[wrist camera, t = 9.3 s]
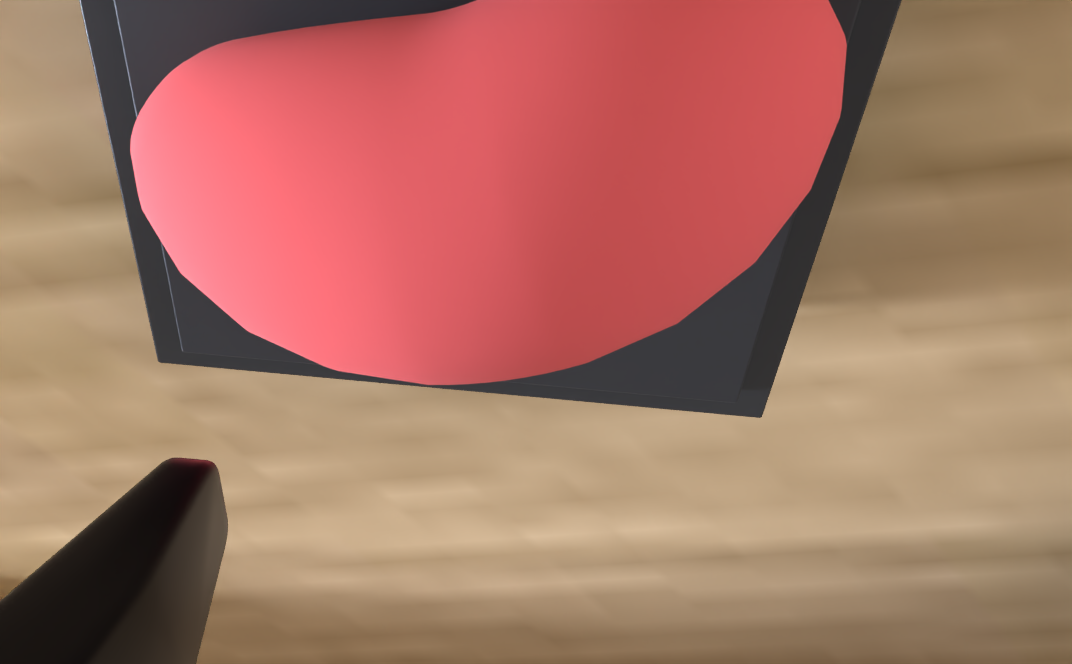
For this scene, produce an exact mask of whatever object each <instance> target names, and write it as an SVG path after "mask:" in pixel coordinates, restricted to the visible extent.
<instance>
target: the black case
mask: <svg viewBox="0 0 1072 664" xmlns="http://www.w3.org/2000/svg"><path fill="white" fill-rule="evenodd" d="M79 1H80V6H81V11H82V15H83V20H84V24H85V29H86V33H87V38H88V43H89V47H90V52H91V56H92V61H93V65H94V70H95V75H96V79H97V84H98V88H99V93H100V97H101V102H102V107H103V111H104V116H105V120H106V125H107V130H108V134H109V139H110V143H111V148H112V152H113V157H114V162H115V166H116V171H117V175H118V180H119V184H120V189H121V194H122V198H123V203H124V207H125V212H126V217H127V221H128V226H129V230H130V235H131V239H132V244H133V249H134V253H135V258H136V262H137V267H138V271H139V276H140V281H141V285H142V290H143V294H144V299H145V304H146V308H147V313H148V317H149V322H150V326H151V331H152V336H153V340H154V345H155V349H156V354H157V358H158V362H160V363H171V364H182V365H193V366H204V367H215V368H225V369H236V370H247V371H258V372H269V373H280V374H291V375H302V376H312V377H323V378H334V379H345V380H356V381H367V382H378V383H388V384H399V385H410V386H421V387H432V388H443V389H454V390H464V391H475V392H486V393H497V394H508V395H519V396H530V397H541V398H551V399H562V400H573V401H584V402H595V403H606V404H617V405H627V406H638V407H649V408H660V409H671V410H682V411H693V412H704V413H714V414H725V415H736V416H747V417H758V418H760V417H762V415H763V412H764V409H765V406H766V403H767V400H768V397H769V394H770V391H771V388H772V385H773V382H774V379H775V376H776V373H777V370H778V367H779V364H780V361H781V358H782V355H783V352H784V349H785V346H786V343H787V340H788V337H789V334H790V331H791V328H792V325H793V322H794V319H795V316H796V313H797V310H798V307H799V304H800V301H801V298H802V295H803V292H804V289H805V286H806V283H807V280H808V277H809V274H810V271H811V269H812V266H813V263H814V260H815V257H816V254H817V251H818V248H819V245H820V242H821V239H822V236H823V233H824V230H825V227H826V224H827V221H828V218H829V215H830V212H831V209H832V206H833V203H834V200H835V197H836V194H837V191H838V188H839V185H840V182H841V179H842V176H843V173H844V170H845V167H846V164H847V161H848V158H849V155H850V152H851V149H852V146H853V143H854V140H855V137H856V134H857V131H858V128H859V125H860V122H861V119H862V117H863V114H864V111H865V108H866V105H867V102H868V99H869V96H870V93H871V90H872V87H873V84H874V81H875V78H876V75H877V72H878V69H879V66H880V63H881V60H882V57H883V54H884V51H885V48H886V45H887V42H888V39H889V36H890V33H891V30H892V27H893V24H894V21H895V18H896V15H897V12H898V9H899V6H900V3H901V0H829V3H830V5H831V7H832V9H833V11H834V13H835V15H836V17H837V19H838V21H839V23H840V25H841V28H842V30H843V32H844V34H845V38H846V44H847V50H846V62H845V74H844V85H843V97H842V109H841V114H840V118H839V121H838V123H837V126H836V128H835V131H834V133H833V136H832V138H831V140H830V143H829V145H828V148H827V150H826V153H825V155H824V158H823V160H822V163H821V165H820V168H819V170H818V173H817V175H816V178H815V180H814V183H813V185H812V188H811V190H810V191H809V193H808V194H807V195H806V197H805V198H804V199H803V200H802V202H801V203H800V204H799V206H798V207H797V208H796V210H795V211H794V212H793V214H792V215H791V216H790V217H789V219H788V220H787V221H786V223H785V224H784V225H783V227H782V228H781V229H780V231H779V232H778V233H777V235H776V236H775V237H774V238H773V240H772V241H771V242H770V244H769V245H768V246H767V248H766V249H765V250H764V252H763V253H762V254H761V255H760V257H759V258H758V259H757V261H756V262H755V263H754V264H753V265H751V266H750V267H749V268H748V269H746V270H745V271H744V272H743V273H741V274H740V275H739V276H737V277H736V278H735V279H734V280H732V281H731V282H730V283H728V284H727V285H726V286H725V287H723V288H722V289H721V290H720V291H718V292H717V293H716V294H714V295H713V296H712V297H711V298H709V299H708V300H707V301H706V302H704V303H703V304H702V305H700V306H699V307H698V308H697V309H695V310H694V311H693V312H691V313H690V314H689V315H688V316H686V317H685V318H684V319H683V320H681V321H680V322H679V323H677V324H675V325H673V326H671V327H668V328H666V329H664V330H662V331H659V332H657V333H655V334H652V335H650V336H648V337H645V338H643V339H641V340H639V341H636V342H634V343H632V344H629V345H627V346H625V347H623V348H620V349H618V350H616V351H613V352H611V353H609V354H607V355H604V356H602V357H600V358H597V359H595V360H593V361H590V362H588V363H585V364H582V365H578V366H574V367H571V368H567V369H563V370H559V371H554V372H550V373H546V374H541V375H535V376H530V377H525V378H518V379H512V380H505V381H496V382H488V383H476V384H458V385H425V384H419V383H412V382H406V381H399V380H393V379H387V378H380V377H374V376H367V375H361V374H355V373H348V372H342V371H336V370H333V369H330V368H327V367H324V366H322V365H320V364H318V363H316V362H314V361H311V360H309V359H307V358H305V357H303V356H300V355H298V354H296V353H294V352H292V351H290V350H287V349H285V348H283V347H281V346H279V345H276V344H274V343H272V342H270V341H268V340H266V339H263V338H261V337H259V336H257V335H255V334H252V333H250V332H248V331H247V330H246V329H244V328H243V327H242V326H241V325H240V324H238V323H237V322H236V321H235V320H234V319H232V318H231V317H230V316H229V315H228V314H227V313H226V312H224V311H223V310H222V309H221V308H220V307H219V306H218V305H216V304H215V303H214V302H213V301H212V300H211V299H210V298H208V297H207V296H206V295H205V294H204V293H203V292H202V291H200V290H199V289H198V288H197V287H196V286H195V285H194V284H192V283H191V282H190V281H189V280H188V279H187V278H185V277H184V276H183V275H182V274H181V273H180V271H179V270H178V268H177V267H176V265H175V263H174V262H173V260H172V258H171V257H170V255H169V254H168V252H167V250H166V249H165V247H164V245H163V244H162V242H161V240H160V239H159V237H158V235H157V234H156V232H155V230H154V229H153V227H152V225H151V224H150V222H149V221H148V219H147V217H146V215H145V214H144V212H143V210H142V208H141V204H140V200H139V196H138V191H137V186H136V180H135V175H134V169H133V164H132V158H131V153H130V145H131V136H132V132H133V127H134V124H135V122H136V120H137V117H138V115H139V113H140V111H141V109H142V107H143V106H144V104H145V103H146V101H147V99H148V98H149V96H150V95H151V94H152V92H153V91H154V90H155V89H156V87H157V86H158V85H159V84H160V83H161V81H162V80H163V79H164V78H165V77H166V76H167V75H168V74H169V73H170V72H171V71H172V70H174V69H175V68H176V67H178V66H179V65H180V64H182V63H183V62H185V61H186V60H188V59H190V58H191V57H193V56H195V55H196V54H198V53H200V52H201V51H204V50H206V49H208V48H210V47H213V46H215V45H217V44H220V43H224V42H227V41H231V40H235V39H240V38H246V37H251V36H257V35H262V34H267V33H273V32H279V31H286V30H292V29H299V28H305V27H312V26H320V25H328V24H336V23H344V22H352V21H361V20H369V19H378V18H388V17H397V16H407V15H416V14H426V13H433V12H438V11H443V10H447V9H451V8H455V7H458V6H462V5H465V4H468V3H470V2H473V1H476V0H79Z"/></svg>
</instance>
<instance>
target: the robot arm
mask: <svg viewBox="0 0 1072 664" xmlns="http://www.w3.org/2000/svg"><path fill="white" fill-rule="evenodd" d="M227 533H228V519H227V513H226V508H225V502H224V497H223V492H222V486H221V481H220V476H219V472H218V469H217V467H216V465H215V464H214V463H213V462H211V461H208V460H198V459H187V458H171V459H168V460H166V461H164V462H162V463H161V464H160V465H159V466H157V467H156V468H155V469H154V470H153V471H152V472H150V473H149V474H148V475H147V476H146V477H145V478H143V479H142V480H141V481H140V482H139V483H138V484H136V485H135V486H134V487H133V488H132V489H131V490H129V491H128V492H127V493H126V494H125V495H124V496H122V497H121V498H120V499H119V500H118V501H117V502H115V503H114V504H113V505H112V506H111V507H110V508H108V509H107V510H106V511H105V512H104V513H103V514H101V515H100V516H99V517H98V518H97V519H95V520H94V521H93V522H92V523H91V524H90V525H88V526H87V527H86V528H85V529H84V530H83V531H81V532H80V533H79V534H78V535H77V536H76V537H74V538H73V539H72V540H71V541H70V542H69V543H67V544H66V545H65V546H64V547H63V548H62V549H60V550H59V551H58V552H57V553H56V554H55V555H53V556H52V557H51V558H50V559H49V560H48V561H46V562H45V563H44V564H43V565H42V566H41V567H39V568H38V569H37V570H36V571H35V572H34V573H32V574H31V575H30V576H29V577H28V578H26V579H25V580H24V581H23V582H22V583H21V584H19V585H18V586H17V587H16V588H15V589H14V590H12V591H11V592H10V593H9V594H8V595H7V596H5V597H4V598H3V599H2V600H1V601H0V664H196V662H197V658H198V654H199V650H200V646H201V642H202V638H203V634H204V630H205V626H206V622H207V618H208V614H209V610H210V606H211V602H212V598H213V594H214V590H215V586H216V582H217V578H218V574H219V569H220V565H221V561H222V557H223V553H224V549H225V545H226V540H227Z"/></svg>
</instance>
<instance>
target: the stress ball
mask: <svg viewBox="0 0 1072 664" xmlns="http://www.w3.org/2000/svg"><path fill="white" fill-rule="evenodd" d="M846 50H847V44H846V38H845V34H844V32H843V30H842V28H841V25H840V23H839V21H838V19H837V17H836V15H835V13H834V11H833V9H832V7H831V5H830V3H829V0H476V1H473V2H470V3H468V4H465V5H462V6H458V7H455V8H451V9H447V10H443V11H438V12H433V13H426V14H416V15H407V16H397V17H388V18H378V19H369V20H361V21H352V22H344V23H336V24H328V25H320V26H312V27H305V28H299V29H292V30H286V31H279V32H273V33H267V34H262V35H257V36H251V37H246V38H240V39H235V40H231V41H227V42H224V43H220V44H217V45H215V46H213V47H210V48H208V49H206V50H204V51H201V52H200V53H198V54H196V55H195V56H193V57H191V58H190V59H188V60H186V61H185V62H183V63H182V64H180V65H179V66H178V67H176V68H175V69H174V70H172V71H171V72H170V73H169V74H168V75H167V76H166V77H165V78H164V79H163V80H162V81H161V83H160V84H159V85H158V86H157V87H156V89H155V90H154V91H153V92H152V94H151V95H150V96H149V98H148V99H147V101H146V103H145V104H144V106H143V107H142V109H141V111H140V113H139V115H138V117H137V120H136V122H135V124H134V127H133V132H132V136H131V145H130V153H131V158H132V164H133V169H134V175H135V180H136V186H137V191H138V196H139V200H140V204H141V208H142V210H143V212H144V214H145V215H146V217H147V219H148V221H149V222H150V224H151V225H152V227H153V229H154V230H155V232H156V234H157V235H158V237H159V239H160V240H161V242H162V244H163V245H164V247H165V249H166V250H167V252H168V254H169V255H170V257H171V258H172V260H173V262H174V263H175V265H176V267H177V268H178V270H179V271H180V273H181V274H182V275H183V276H184V277H185V278H187V279H188V280H189V281H190V282H191V283H192V284H194V285H195V286H196V287H197V288H198V289H199V290H200V291H202V292H203V293H204V294H205V295H206V296H207V297H208V298H210V299H211V300H212V301H213V302H214V303H215V304H216V305H218V306H219V307H220V308H221V309H222V310H223V311H224V312H226V313H227V314H228V315H229V316H230V317H231V318H232V319H234V320H235V321H236V322H237V323H238V324H240V325H241V326H242V327H243V328H244V329H246V330H247V331H248V332H250V333H252V334H255V335H257V336H259V337H261V338H263V339H266V340H268V341H270V342H272V343H274V344H276V345H279V346H281V347H283V348H285V349H287V350H290V351H292V352H294V353H296V354H298V355H300V356H303V357H305V358H307V359H309V360H311V361H314V362H316V363H318V364H320V365H322V366H324V367H327V368H330V369H333V370H336V371H342V372H348V373H355V374H361V375H367V376H374V377H380V378H387V379H393V380H399V381H406V382H412V383H419V384H425V385H458V384H476V383H488V382H496V381H505V380H512V379H518V378H525V377H530V376H535V375H541V374H546V373H550V372H554V371H559V370H563V369H567V368H571V367H574V366H578V365H582V364H585V363H588V362H590V361H593V360H595V359H597V358H600V357H602V356H604V355H607V354H609V353H611V352H613V351H616V350H618V349H620V348H623V347H625V346H627V345H629V344H632V343H634V342H636V341H639V340H641V339H643V338H645V337H648V336H650V335H652V334H655V333H657V332H659V331H662V330H664V329H666V328H668V327H671V326H673V325H675V324H677V323H679V322H680V321H681V320H683V319H684V318H685V317H686V316H688V315H689V314H690V313H691V312H693V311H694V310H695V309H697V308H698V307H699V306H700V305H702V304H703V303H704V302H706V301H707V300H708V299H709V298H711V297H712V296H713V295H714V294H716V293H717V292H718V291H720V290H721V289H722V288H723V287H725V286H726V285H727V284H728V283H730V282H731V281H732V280H734V279H735V278H736V277H737V276H739V275H740V274H741V273H743V272H744V271H745V270H746V269H748V268H749V267H750V266H751V265H753V264H754V263H755V262H756V261H757V259H758V258H759V257H760V255H761V254H762V253H763V252H764V250H765V249H766V248H767V246H768V245H769V244H770V242H771V241H772V240H773V238H774V237H775V236H776V235H777V233H778V232H779V231H780V229H781V228H782V227H783V225H784V224H785V223H786V221H787V220H788V219H789V217H790V216H791V215H792V214H793V212H794V211H795V210H796V208H797V207H798V206H799V204H800V203H801V202H802V200H803V199H804V198H805V197H806V195H807V194H808V193H809V191H810V190H811V188H812V185H813V183H814V180H815V178H816V175H817V173H818V170H819V168H820V165H821V163H822V160H823V158H824V155H825V153H826V150H827V148H828V145H829V143H830V140H831V138H832V136H833V133H834V131H835V128H836V126H837V123H838V121H839V118H840V114H841V109H842V97H843V85H844V74H845V62H846Z"/></svg>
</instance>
